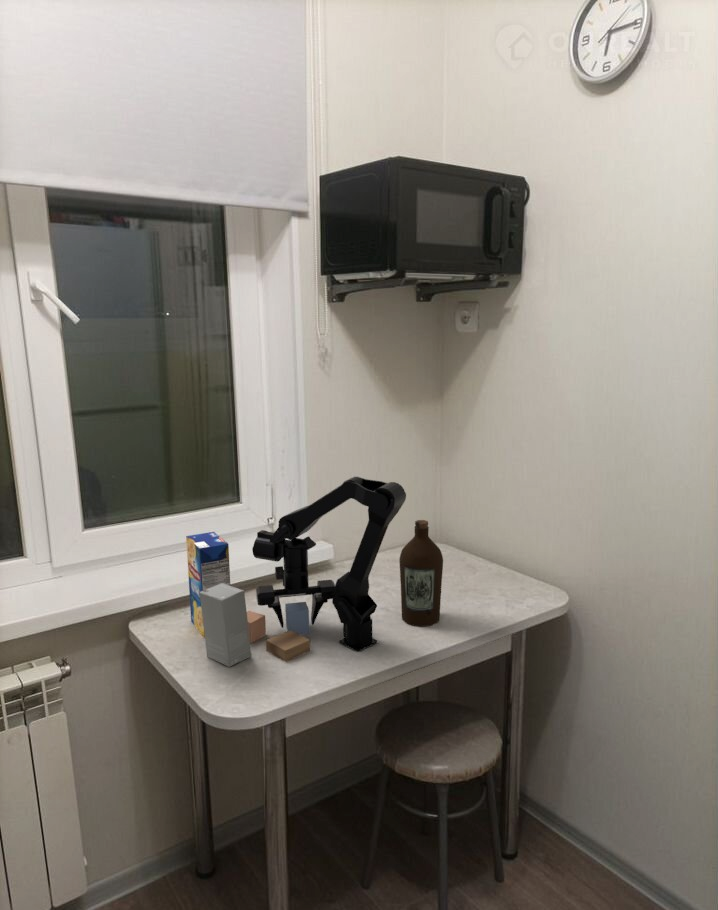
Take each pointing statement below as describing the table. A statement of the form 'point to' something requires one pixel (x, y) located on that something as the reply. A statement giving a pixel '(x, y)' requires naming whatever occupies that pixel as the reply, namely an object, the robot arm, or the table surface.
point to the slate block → (297, 617)
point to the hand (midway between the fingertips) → (297, 625)
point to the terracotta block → (256, 625)
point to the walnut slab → (288, 645)
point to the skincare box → (225, 624)
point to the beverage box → (205, 569)
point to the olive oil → (421, 578)
